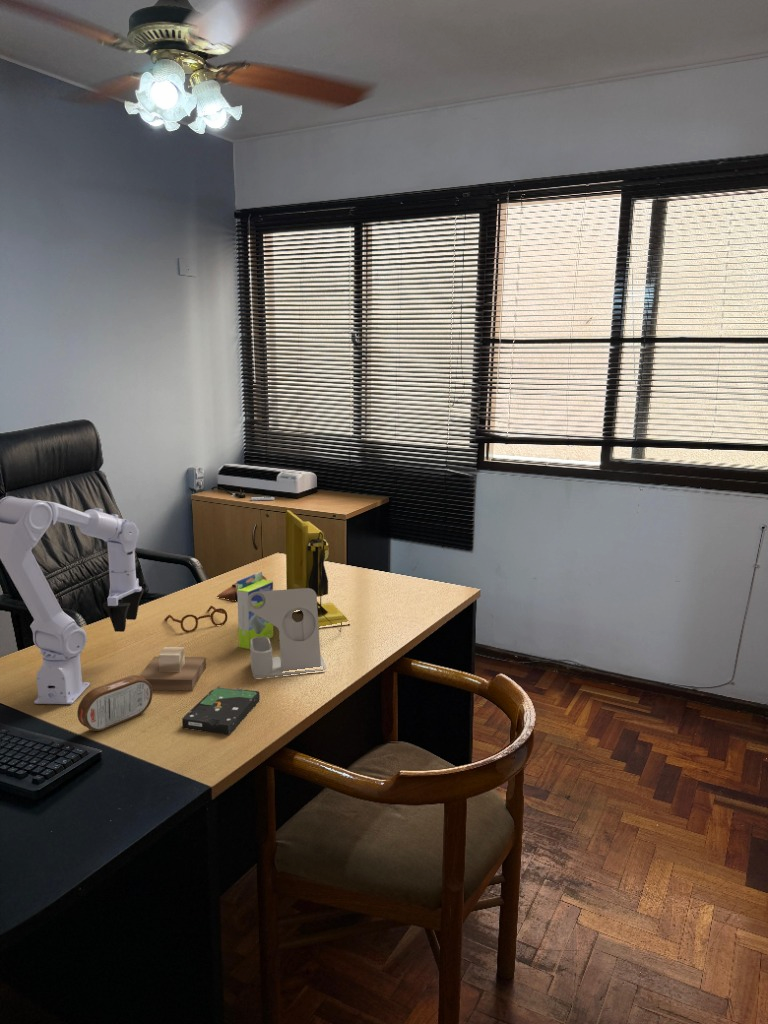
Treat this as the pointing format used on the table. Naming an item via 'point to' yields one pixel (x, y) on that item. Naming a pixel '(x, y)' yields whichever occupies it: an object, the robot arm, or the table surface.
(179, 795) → the table surface
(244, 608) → the box
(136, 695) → the tin
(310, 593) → the phone holder
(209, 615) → the glasses
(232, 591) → the sunglasses case
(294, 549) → the yellow computer monitor
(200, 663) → the plinth
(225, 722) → the disk drive
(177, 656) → the block
